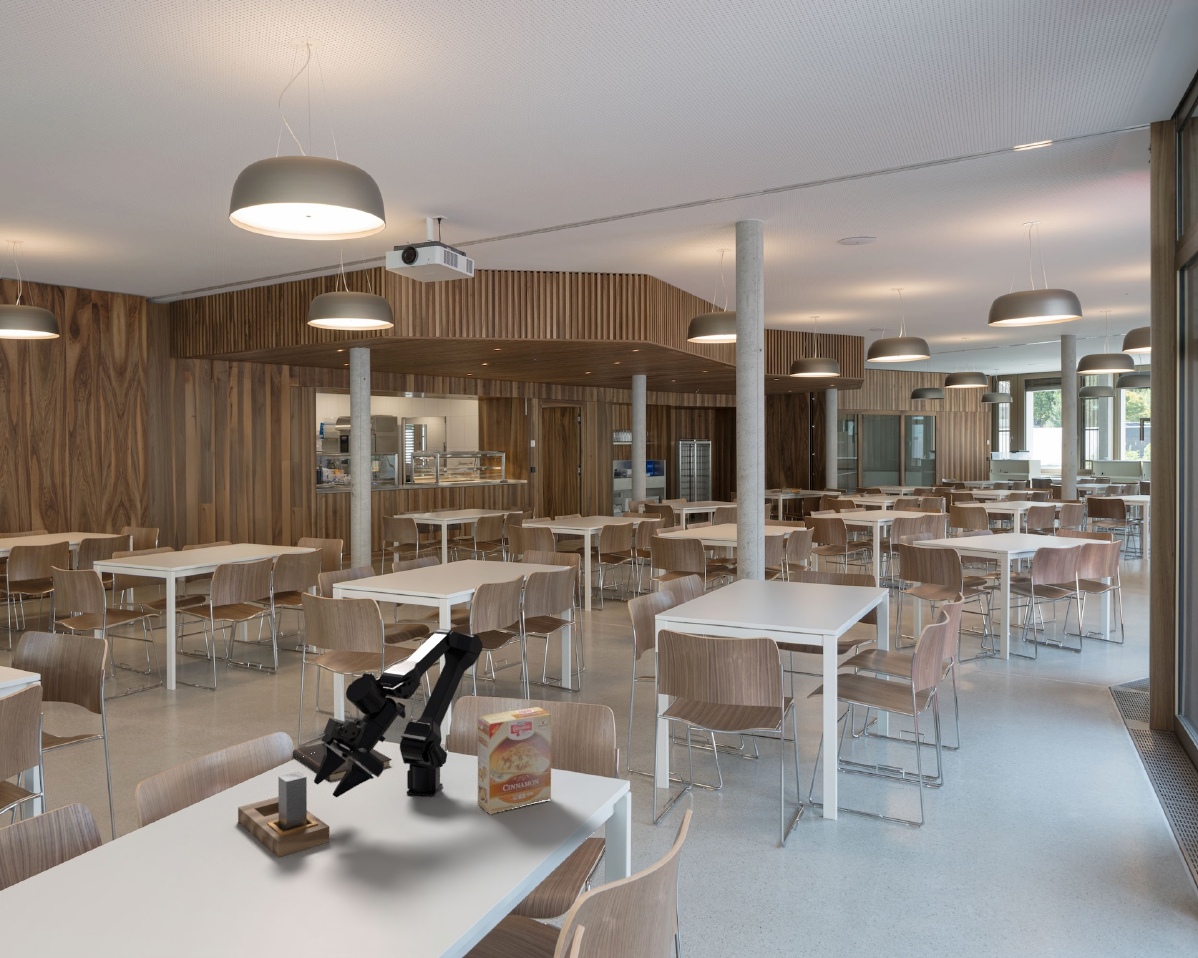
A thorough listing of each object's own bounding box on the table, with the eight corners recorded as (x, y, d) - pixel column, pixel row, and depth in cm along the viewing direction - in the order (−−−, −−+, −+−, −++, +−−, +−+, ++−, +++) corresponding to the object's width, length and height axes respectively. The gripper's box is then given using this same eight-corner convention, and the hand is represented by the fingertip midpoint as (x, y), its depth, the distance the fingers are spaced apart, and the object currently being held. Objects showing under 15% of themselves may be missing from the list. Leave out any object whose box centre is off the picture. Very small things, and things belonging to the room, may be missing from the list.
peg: (278, 839, 166) (278, 776, 166) (298, 833, 168) (298, 771, 168) (286, 845, 163) (286, 781, 163) (306, 839, 166) (306, 776, 165)
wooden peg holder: (238, 821, 174) (238, 805, 174) (285, 808, 181) (285, 793, 181) (278, 857, 158) (278, 839, 158) (329, 841, 165) (329, 824, 165)
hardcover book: (351, 745, 225) (351, 736, 225) (391, 768, 208) (391, 758, 208) (292, 758, 215) (292, 749, 215) (328, 783, 197) (328, 773, 197)
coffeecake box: (489, 815, 177) (489, 723, 177) (476, 804, 184) (476, 715, 183) (552, 801, 185) (552, 713, 185) (538, 790, 191) (537, 705, 191)
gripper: (329, 693, 180) (278, 756, 173) (369, 712, 167) (315, 781, 159) (364, 722, 186) (316, 784, 179) (405, 742, 172) (355, 811, 165)
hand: (324, 789), depth 170 cm, fingers open, 9 cm apart
